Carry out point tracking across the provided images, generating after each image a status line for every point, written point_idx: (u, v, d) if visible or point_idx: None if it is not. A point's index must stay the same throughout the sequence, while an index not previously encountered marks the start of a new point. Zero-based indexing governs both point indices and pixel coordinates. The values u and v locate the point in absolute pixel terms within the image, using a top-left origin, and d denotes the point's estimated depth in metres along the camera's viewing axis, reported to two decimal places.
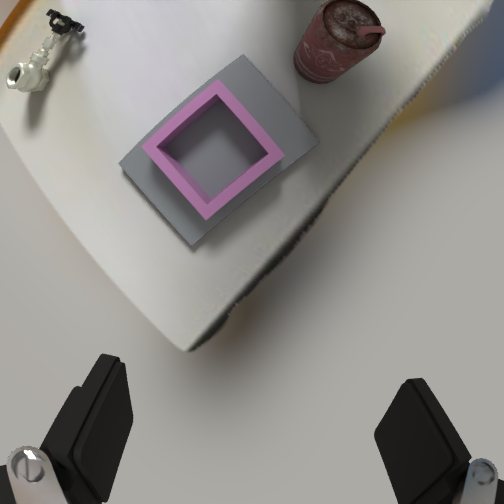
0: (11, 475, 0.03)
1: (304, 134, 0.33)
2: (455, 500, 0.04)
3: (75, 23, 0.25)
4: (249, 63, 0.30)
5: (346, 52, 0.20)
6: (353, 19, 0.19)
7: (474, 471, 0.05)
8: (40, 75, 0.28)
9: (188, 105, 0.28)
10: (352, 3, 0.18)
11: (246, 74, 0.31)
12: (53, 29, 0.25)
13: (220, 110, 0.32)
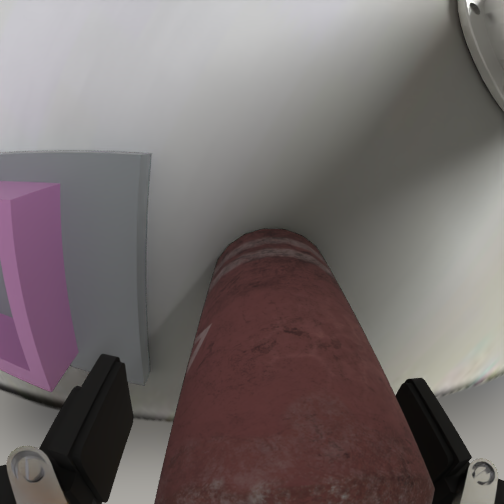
0: (11, 475, 0.03)
1: (129, 363, 0.17)
2: (455, 500, 0.04)
3: None
4: (133, 185, 0.13)
5: None
6: None
7: (474, 471, 0.05)
8: None
9: None
10: None
11: (110, 201, 0.13)
12: None
13: None
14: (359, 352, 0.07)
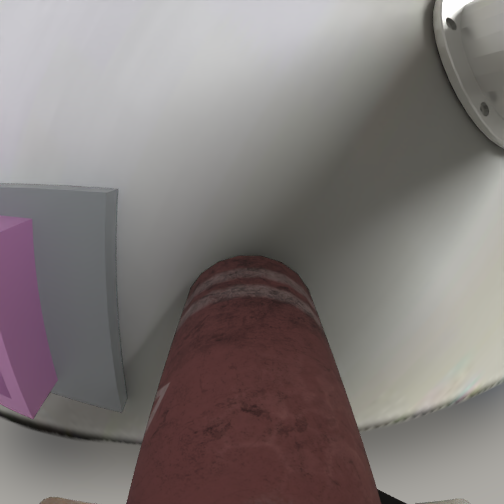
0: None
1: (106, 391, 0.16)
2: None
3: None
4: (100, 222, 0.13)
5: None
6: None
7: None
8: None
9: None
10: None
11: (79, 238, 0.13)
12: None
13: None
14: (329, 432, 0.05)
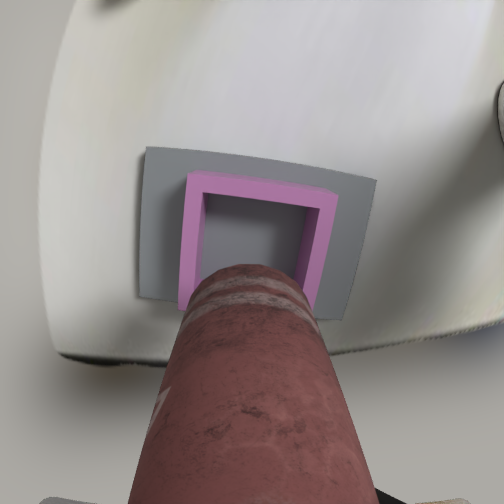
0: None
1: (338, 303, 0.29)
2: None
3: None
4: (371, 195, 0.25)
5: None
6: None
7: None
8: None
9: (281, 188, 0.21)
10: None
11: (357, 202, 0.25)
12: None
13: (298, 210, 0.26)
14: (327, 433, 0.05)
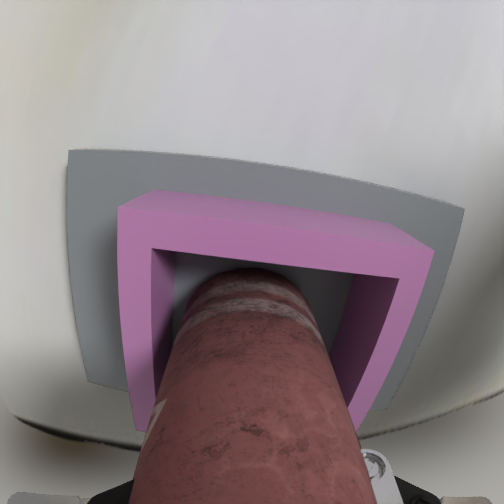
0: None
1: (385, 391, 0.17)
2: None
3: None
4: (455, 233, 0.14)
5: None
6: None
7: None
8: None
9: (328, 239, 0.09)
10: None
11: (435, 246, 0.14)
12: None
13: None
14: (331, 451, 0.05)
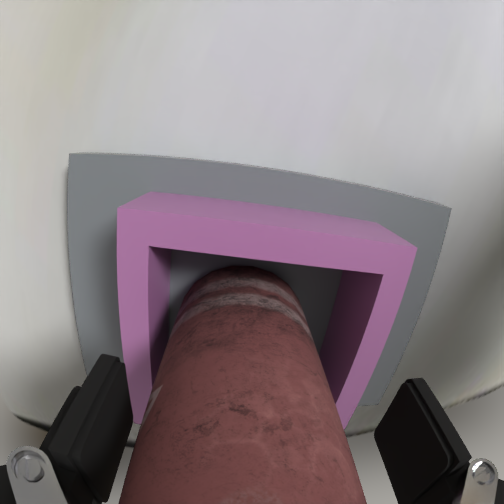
0: (11, 475, 0.03)
1: (377, 387, 0.18)
2: (455, 500, 0.04)
3: None
4: (442, 232, 0.14)
5: None
6: None
7: (474, 471, 0.05)
8: None
9: (313, 237, 0.10)
10: None
11: (422, 245, 0.14)
12: None
13: None
14: (313, 431, 0.06)
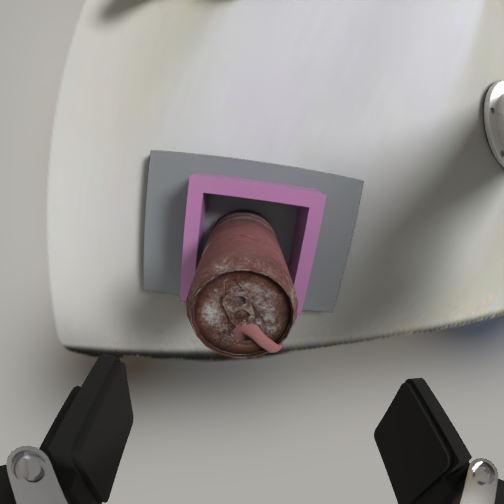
0: (11, 475, 0.03)
1: (329, 296, 0.31)
2: (455, 500, 0.04)
3: None
4: (358, 195, 0.28)
5: (198, 334, 0.17)
6: (252, 311, 0.16)
7: (474, 471, 0.05)
8: None
9: (274, 189, 0.23)
10: (278, 292, 0.15)
11: (345, 202, 0.28)
12: None
13: (290, 209, 0.28)
14: (268, 244, 0.19)
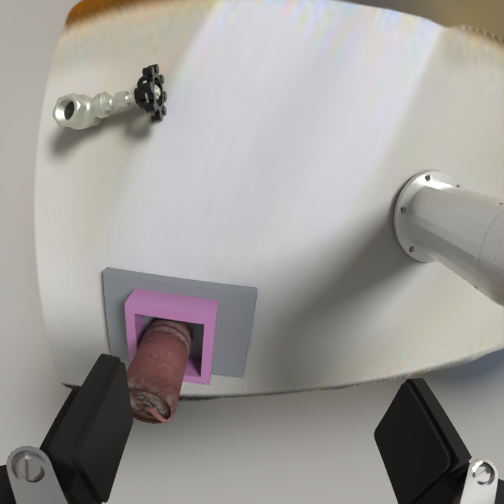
0: (11, 475, 0.03)
1: (238, 368, 0.41)
2: (455, 500, 0.04)
3: (157, 114, 0.28)
4: (253, 303, 0.38)
5: None
6: (150, 403, 0.26)
7: (474, 471, 0.05)
8: (91, 123, 0.29)
9: (179, 313, 0.33)
10: (160, 397, 0.26)
11: (243, 308, 0.38)
12: (136, 93, 0.27)
13: None
14: (164, 361, 0.29)
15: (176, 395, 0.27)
